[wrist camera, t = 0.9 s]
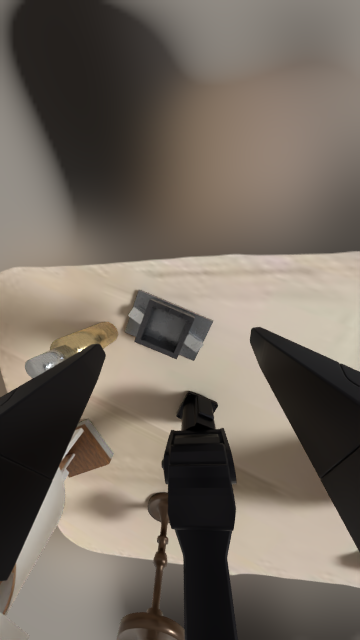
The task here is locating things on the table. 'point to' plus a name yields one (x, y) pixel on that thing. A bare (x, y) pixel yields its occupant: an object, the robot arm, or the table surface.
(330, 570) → the table surface
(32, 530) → the white banded pillar
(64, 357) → the gold perfume bottle
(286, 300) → the table surface
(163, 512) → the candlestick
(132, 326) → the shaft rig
